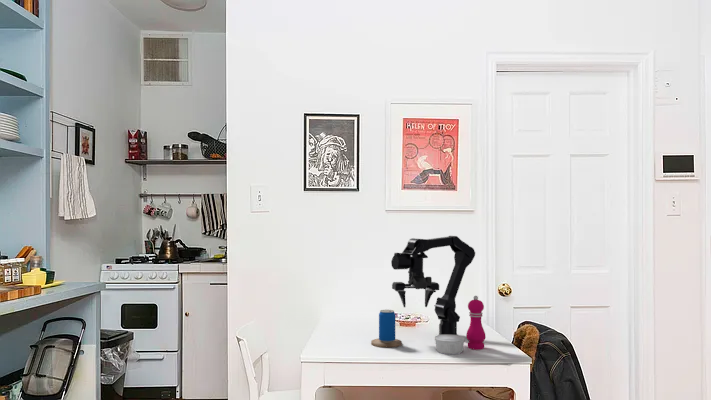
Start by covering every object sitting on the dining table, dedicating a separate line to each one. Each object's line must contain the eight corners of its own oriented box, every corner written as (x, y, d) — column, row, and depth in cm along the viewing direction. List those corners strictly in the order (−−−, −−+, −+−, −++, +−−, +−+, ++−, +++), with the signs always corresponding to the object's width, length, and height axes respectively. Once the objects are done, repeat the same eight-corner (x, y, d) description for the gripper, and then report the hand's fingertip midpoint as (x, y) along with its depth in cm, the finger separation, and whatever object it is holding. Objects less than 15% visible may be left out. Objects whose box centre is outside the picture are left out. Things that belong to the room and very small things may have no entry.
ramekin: (446, 356, 203) (446, 342, 203) (428, 350, 213) (428, 336, 213) (471, 353, 208) (471, 338, 209) (452, 346, 218) (452, 333, 218)
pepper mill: (481, 351, 211) (481, 297, 212) (463, 348, 215) (463, 296, 216) (488, 347, 217) (488, 295, 218) (470, 344, 221) (470, 293, 222)
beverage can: (398, 341, 223) (398, 310, 223) (388, 344, 218) (388, 312, 218) (385, 338, 227) (385, 308, 227) (375, 341, 222) (375, 310, 222)
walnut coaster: (396, 339, 229) (396, 337, 229) (405, 346, 217) (405, 344, 217) (368, 341, 227) (368, 338, 227) (375, 348, 215) (375, 345, 215)
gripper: (399, 270, 222) (398, 310, 221) (444, 271, 226) (443, 310, 225) (392, 268, 233) (391, 306, 232) (434, 268, 237) (434, 305, 236)
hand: (415, 307), depth 231 cm, fingers open, 9 cm apart
